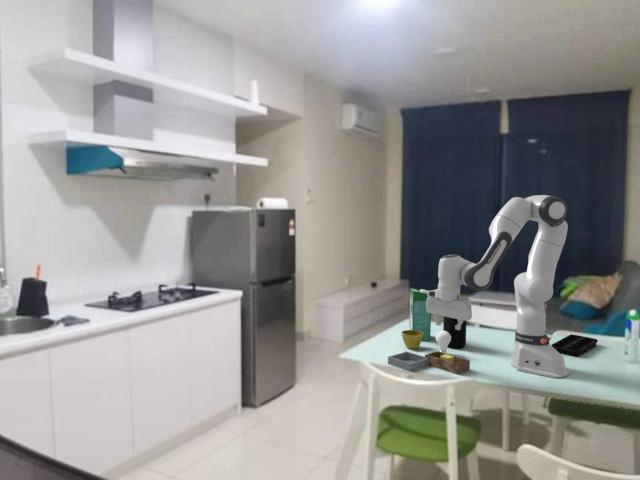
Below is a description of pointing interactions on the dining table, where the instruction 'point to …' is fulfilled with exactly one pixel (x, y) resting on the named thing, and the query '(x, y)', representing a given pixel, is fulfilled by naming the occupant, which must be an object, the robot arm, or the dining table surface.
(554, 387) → the dining table surface
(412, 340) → the flower pot
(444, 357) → the block
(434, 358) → the box
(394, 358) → the tub
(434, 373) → the dining table surface
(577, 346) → the egg carton
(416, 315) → the milk carton
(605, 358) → the dining table surface
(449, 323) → the coffee jar
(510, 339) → the dining table surface
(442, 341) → the light bulb
